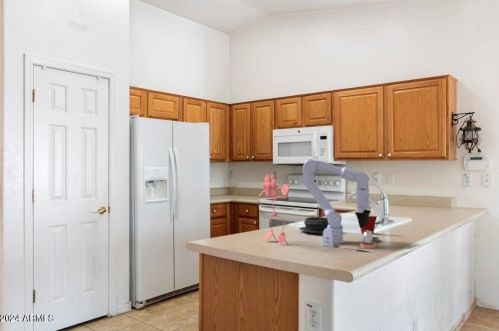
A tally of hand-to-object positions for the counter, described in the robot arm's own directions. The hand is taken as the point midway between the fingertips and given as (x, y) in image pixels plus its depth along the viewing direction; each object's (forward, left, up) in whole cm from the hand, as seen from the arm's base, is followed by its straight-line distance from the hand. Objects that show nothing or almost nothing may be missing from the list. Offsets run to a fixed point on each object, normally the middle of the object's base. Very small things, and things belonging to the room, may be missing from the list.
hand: (363, 226), depth 182 cm
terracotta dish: (-7, -8, -8) cm, 13 cm away
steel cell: (-7, -8, -8) cm, 13 cm away
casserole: (+12, +40, -10) cm, 43 cm away
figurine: (-29, +34, -10) cm, 46 cm away
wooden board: (0, -4, -9) cm, 10 cm away
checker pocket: (+6, 0, -8) cm, 10 cm away
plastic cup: (+24, +15, -10) cm, 30 cm away
